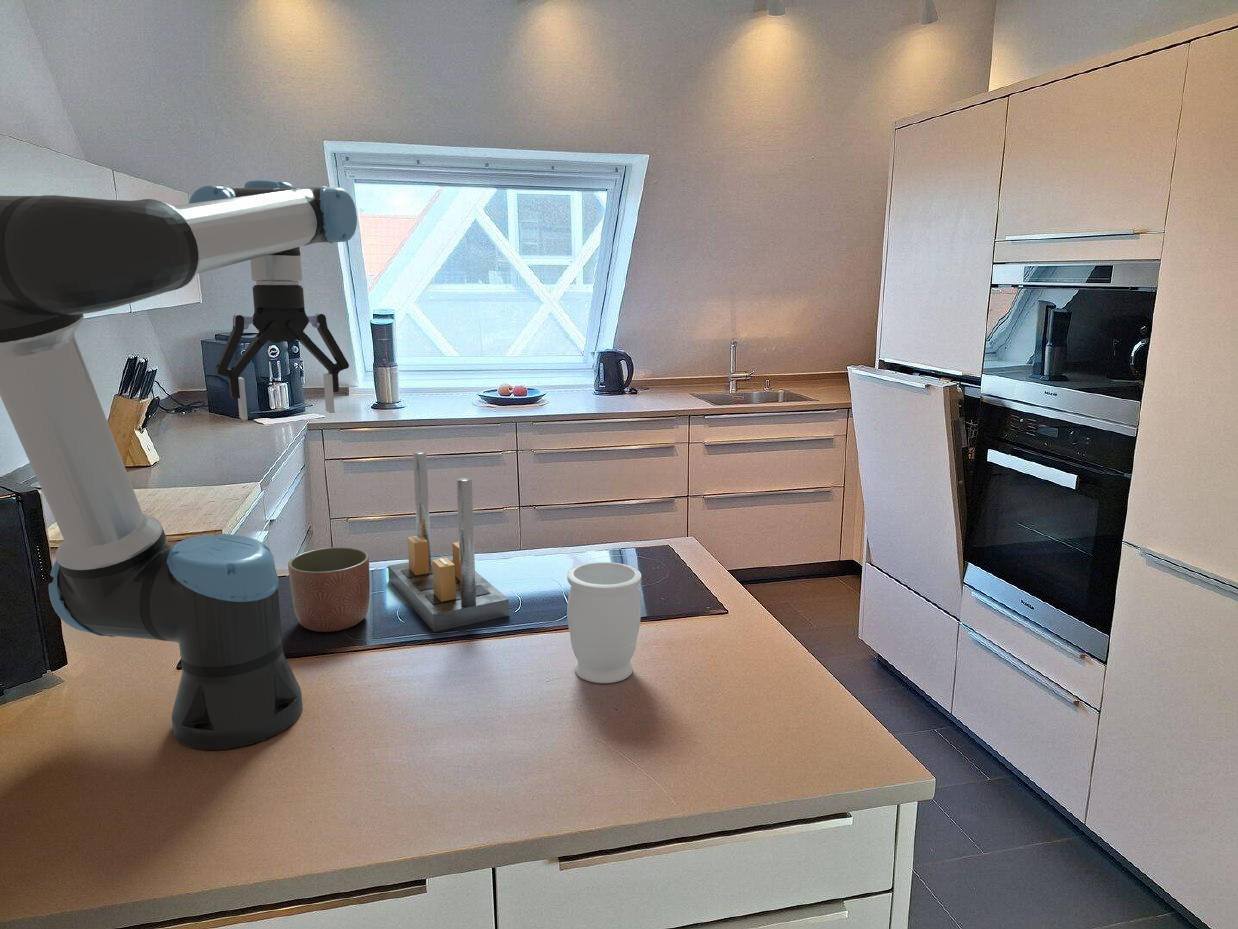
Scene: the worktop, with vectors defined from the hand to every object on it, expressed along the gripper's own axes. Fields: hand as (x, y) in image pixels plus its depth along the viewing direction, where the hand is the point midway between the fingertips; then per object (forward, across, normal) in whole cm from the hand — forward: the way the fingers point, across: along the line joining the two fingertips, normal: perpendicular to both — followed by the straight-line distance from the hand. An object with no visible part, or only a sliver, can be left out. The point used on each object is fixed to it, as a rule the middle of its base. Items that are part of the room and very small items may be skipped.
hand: (288, 415), depth 135 cm
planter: (+33, -2, +11) cm, 35 cm away
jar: (+33, -30, +50) cm, 67 cm away
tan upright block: (+30, -25, +12) cm, 41 cm away
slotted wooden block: (+30, -19, +18) cm, 40 cm away
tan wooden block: (+30, -20, +4) cm, 36 cm away
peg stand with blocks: (+33, -22, +11) cm, 41 cm away
